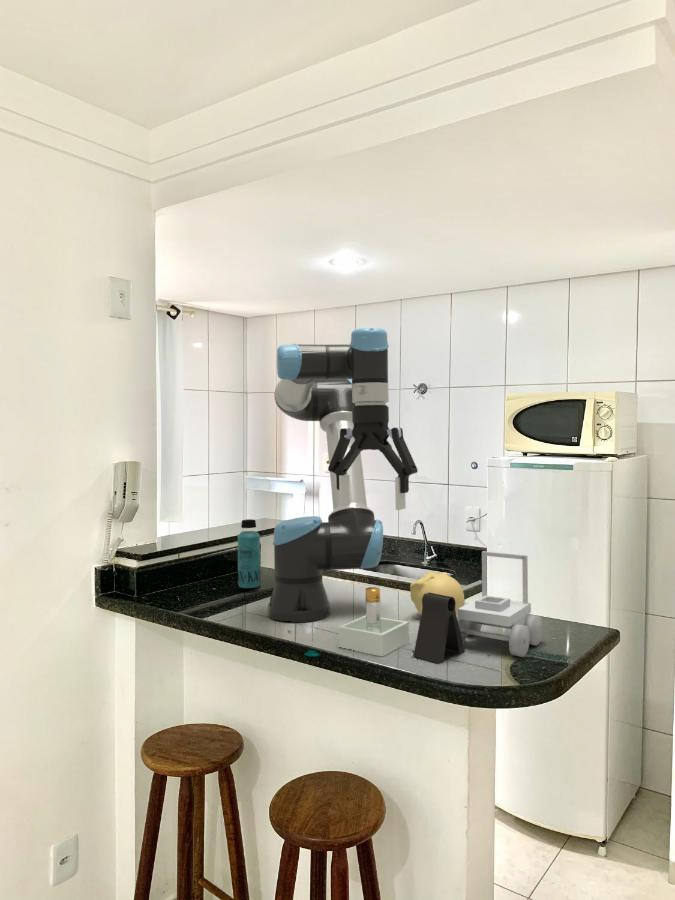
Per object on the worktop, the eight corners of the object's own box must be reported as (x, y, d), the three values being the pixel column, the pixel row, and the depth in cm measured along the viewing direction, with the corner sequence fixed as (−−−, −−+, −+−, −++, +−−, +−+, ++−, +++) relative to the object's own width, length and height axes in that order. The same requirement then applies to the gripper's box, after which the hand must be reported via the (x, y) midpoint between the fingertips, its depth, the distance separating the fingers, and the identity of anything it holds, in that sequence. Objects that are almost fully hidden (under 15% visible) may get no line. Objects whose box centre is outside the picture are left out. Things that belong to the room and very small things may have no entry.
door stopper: (438, 664, 132) (437, 602, 132) (413, 657, 137) (412, 596, 136) (465, 652, 139) (464, 593, 138) (440, 646, 143) (439, 588, 143)
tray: (338, 647, 143) (338, 627, 143) (366, 634, 152) (366, 614, 152) (382, 656, 137) (382, 635, 137) (408, 642, 146) (408, 622, 146)
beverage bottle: (238, 588, 197) (236, 518, 197) (261, 587, 198) (260, 517, 197) (237, 594, 191) (235, 521, 190) (261, 592, 192) (260, 520, 191)
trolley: (446, 647, 142) (445, 559, 142) (474, 630, 154) (473, 549, 153) (518, 660, 134) (518, 567, 133) (543, 641, 145) (542, 555, 144)
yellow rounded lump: (433, 608, 173) (433, 565, 172) (473, 617, 164) (473, 572, 164) (403, 617, 165) (402, 572, 164) (443, 627, 156) (442, 580, 156)
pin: (363, 641, 144) (362, 589, 144) (371, 638, 147) (370, 586, 146) (376, 644, 142) (375, 591, 142) (383, 640, 145) (382, 588, 144)
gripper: (310, 406, 147) (312, 506, 148) (415, 402, 133) (416, 512, 133) (331, 406, 153) (333, 502, 154) (433, 402, 139) (434, 508, 140)
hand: (371, 507), depth 144 cm, fingers open, 13 cm apart
